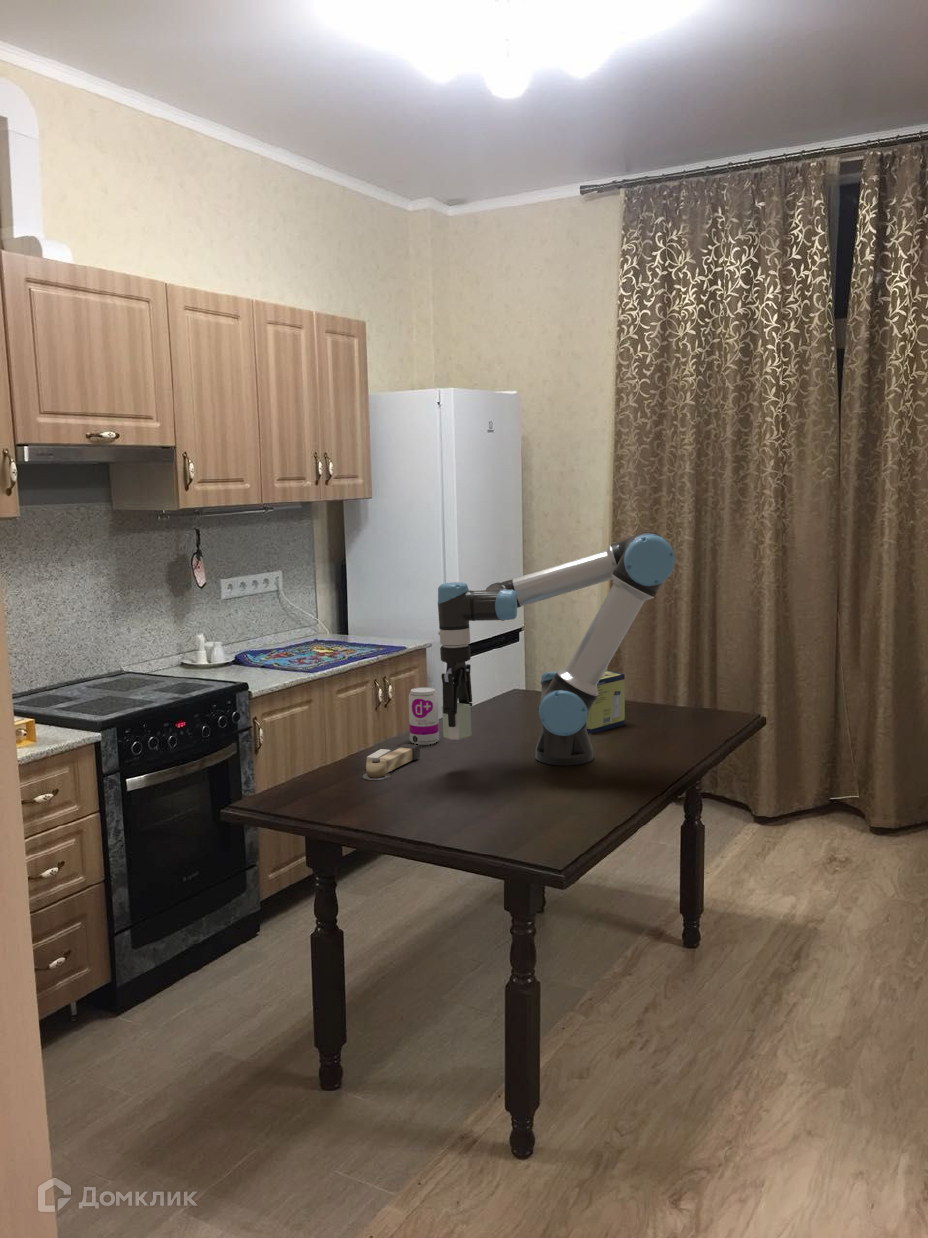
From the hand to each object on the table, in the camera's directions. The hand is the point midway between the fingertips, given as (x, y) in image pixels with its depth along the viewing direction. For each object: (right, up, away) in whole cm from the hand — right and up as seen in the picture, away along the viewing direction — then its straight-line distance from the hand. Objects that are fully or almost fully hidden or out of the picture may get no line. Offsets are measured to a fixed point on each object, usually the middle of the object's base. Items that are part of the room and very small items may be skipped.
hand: (459, 735), depth 263 cm
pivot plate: (-21, -10, -1) cm, 23 cm away
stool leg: (-17, -9, +6) cm, 20 cm away
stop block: (-21, -9, +9) cm, 24 cm away
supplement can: (-10, -6, +31) cm, 33 cm away
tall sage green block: (0, 0, 0) cm, 1 cm away
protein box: (+40, -3, +44) cm, 59 cm away
